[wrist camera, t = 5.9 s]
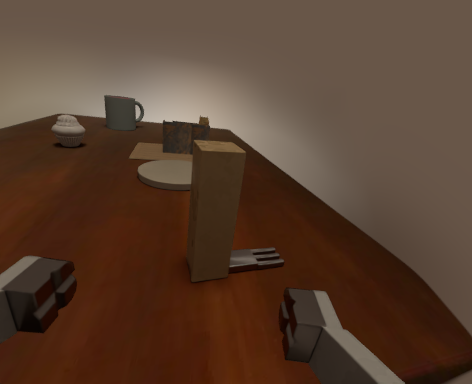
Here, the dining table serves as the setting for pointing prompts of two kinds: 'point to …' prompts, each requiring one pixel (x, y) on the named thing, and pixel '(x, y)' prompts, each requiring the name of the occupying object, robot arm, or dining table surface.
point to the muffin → (68, 131)
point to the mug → (121, 112)
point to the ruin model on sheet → (174, 141)
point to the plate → (167, 174)
